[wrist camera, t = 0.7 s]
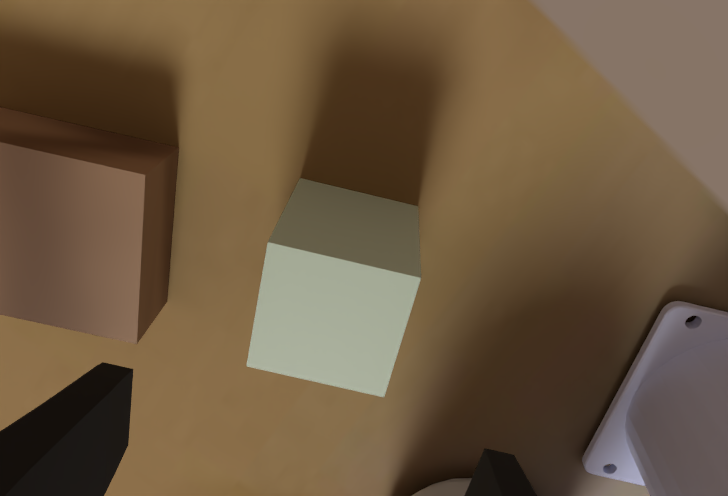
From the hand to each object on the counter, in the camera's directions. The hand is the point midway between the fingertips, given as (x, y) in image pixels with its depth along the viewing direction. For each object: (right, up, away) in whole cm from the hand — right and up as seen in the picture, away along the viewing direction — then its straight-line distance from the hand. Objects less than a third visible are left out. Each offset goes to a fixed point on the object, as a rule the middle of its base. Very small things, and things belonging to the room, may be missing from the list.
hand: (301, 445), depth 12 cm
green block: (+1, +4, +8) cm, 9 cm away
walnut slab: (-8, +5, +9) cm, 13 cm away
